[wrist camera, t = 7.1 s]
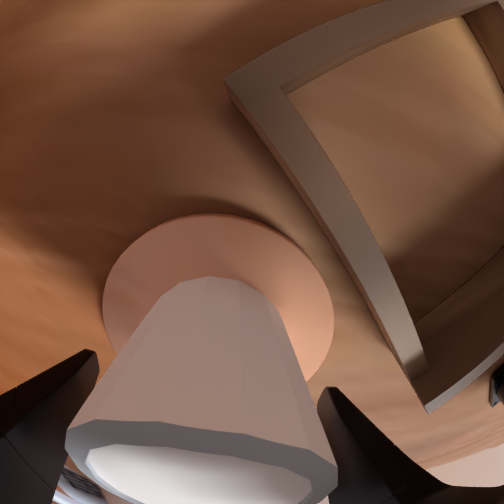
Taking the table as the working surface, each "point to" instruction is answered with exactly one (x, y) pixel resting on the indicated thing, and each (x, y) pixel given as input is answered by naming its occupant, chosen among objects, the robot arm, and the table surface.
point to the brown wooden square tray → (346, 210)
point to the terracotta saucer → (224, 266)
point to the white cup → (205, 407)
